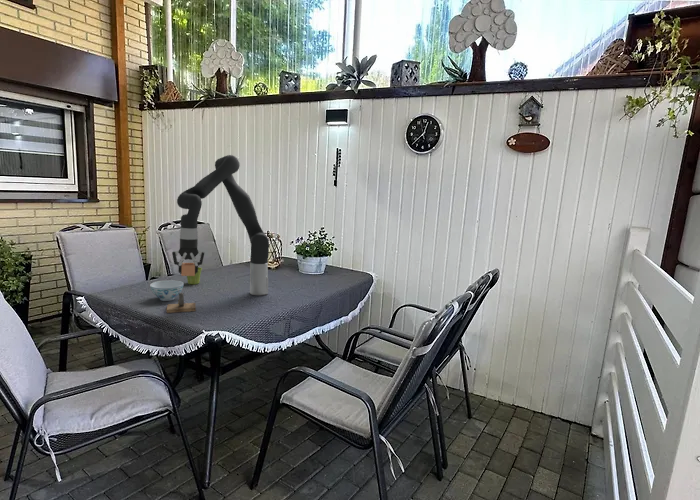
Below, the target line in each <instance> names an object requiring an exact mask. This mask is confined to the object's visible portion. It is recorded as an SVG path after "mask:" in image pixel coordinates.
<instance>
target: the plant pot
mask: <svg viewBox="0 0 700 500" xmlns="http://www.w3.org/2000/svg"><path fill="white" fill-rule="evenodd" d="M202 270H203V268H202V267H199V266H198V272H197V273H196V274H195V276H186V279H187V284H188V285H199V284H200V280H201V273H202Z"/></svg>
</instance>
